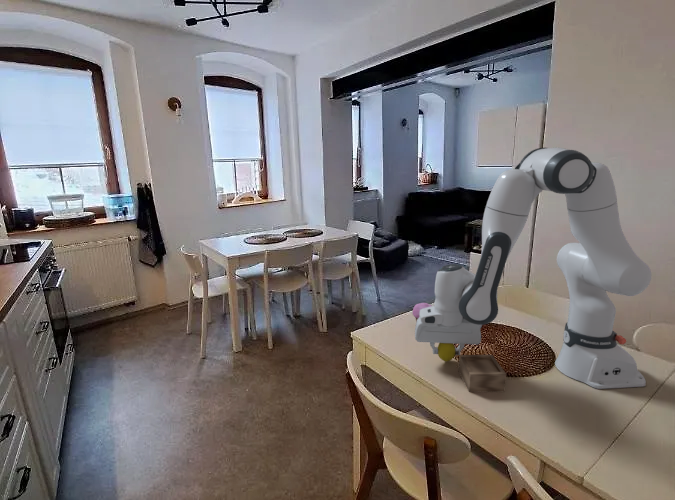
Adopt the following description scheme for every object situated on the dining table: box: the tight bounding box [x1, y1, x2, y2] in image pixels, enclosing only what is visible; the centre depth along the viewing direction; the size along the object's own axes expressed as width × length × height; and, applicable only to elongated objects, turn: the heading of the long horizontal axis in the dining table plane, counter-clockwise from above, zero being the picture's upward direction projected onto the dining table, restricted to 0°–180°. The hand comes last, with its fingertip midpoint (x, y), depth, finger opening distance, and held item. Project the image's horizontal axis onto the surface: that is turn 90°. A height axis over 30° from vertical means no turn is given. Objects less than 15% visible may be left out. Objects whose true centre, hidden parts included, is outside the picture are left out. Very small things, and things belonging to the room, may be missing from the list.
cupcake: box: [412, 302, 433, 322], centre depth 139 cm, size 9×9×10 cm
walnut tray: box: [457, 354, 507, 393], centre depth 106 cm, size 10×10×6 cm
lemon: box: [437, 343, 456, 363], centre depth 116 cm, size 6×6×8 cm
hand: (446, 353), depth 116 cm, fingers closed on lemon, 5 cm apart
